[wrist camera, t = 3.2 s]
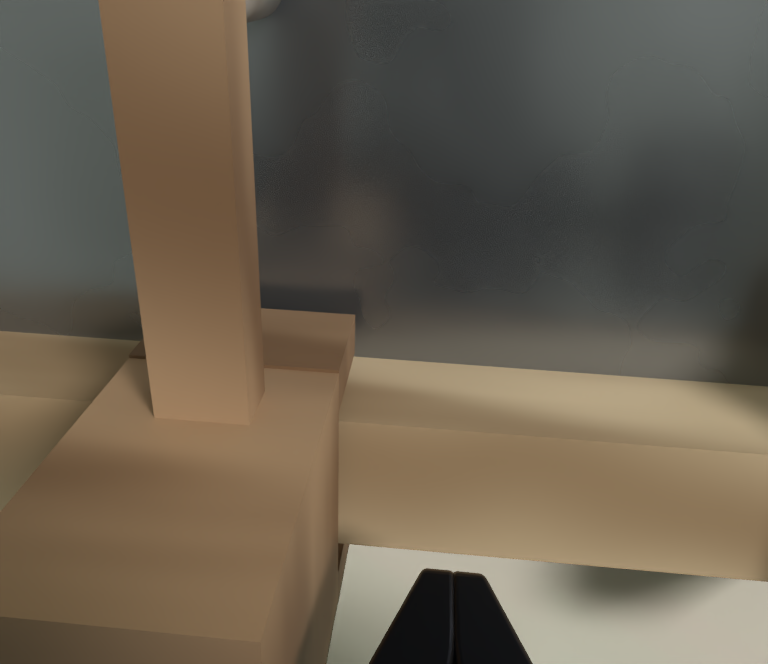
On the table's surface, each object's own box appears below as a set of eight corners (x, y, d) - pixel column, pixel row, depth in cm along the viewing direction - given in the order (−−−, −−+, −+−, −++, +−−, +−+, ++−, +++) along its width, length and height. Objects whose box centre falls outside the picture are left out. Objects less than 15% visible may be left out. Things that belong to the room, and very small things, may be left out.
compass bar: (982, 563, 13) (1124, 725, 10) (-148, 465, 15) (-292, 584, 12) (1338, -88, 9) (1773, -114, 6) (-373, -138, 10) (-702, -178, 7)
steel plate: (934, 556, 15) (967, 597, 14) (-103, 467, 16) (-139, 498, 15) (1532, -629, 7) (1692, -719, 6) (-465, -595, 9) (-576, -664, 8)
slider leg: (353, 523, 14) (278, 918, 8) (199, 510, 14) (20, 886, 8) (363, -118, 9) (201, -263, 3) (131, -125, 9) (-401, -273, 4)
